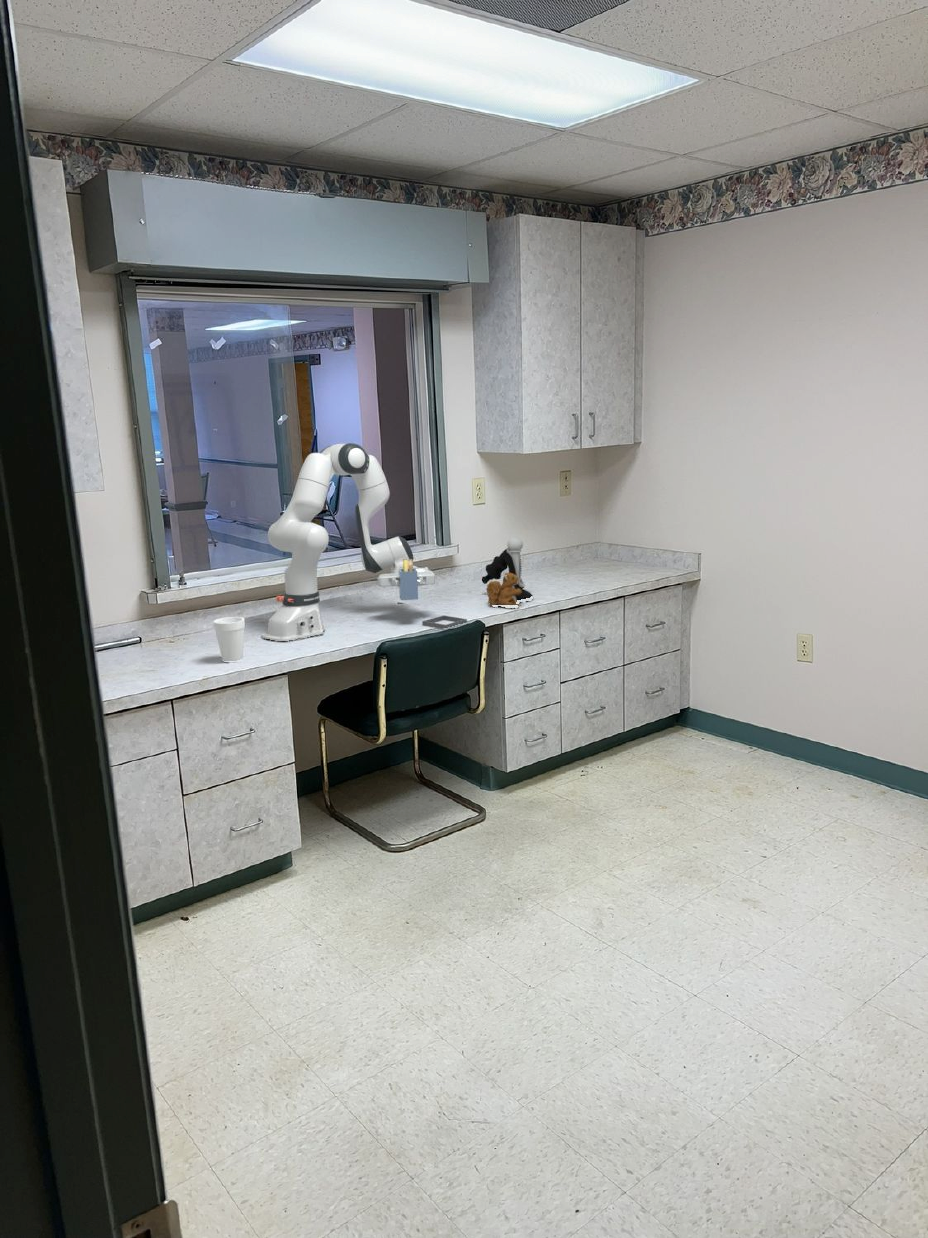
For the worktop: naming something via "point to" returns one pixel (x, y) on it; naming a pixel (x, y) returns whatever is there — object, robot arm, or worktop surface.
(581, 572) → the worktop surface
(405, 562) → the mustard peg
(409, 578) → the pencil cup
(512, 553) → the sculpture
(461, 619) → the gray square frame
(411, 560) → the wooden peg
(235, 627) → the foam cup
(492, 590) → the stuffed squirrel
